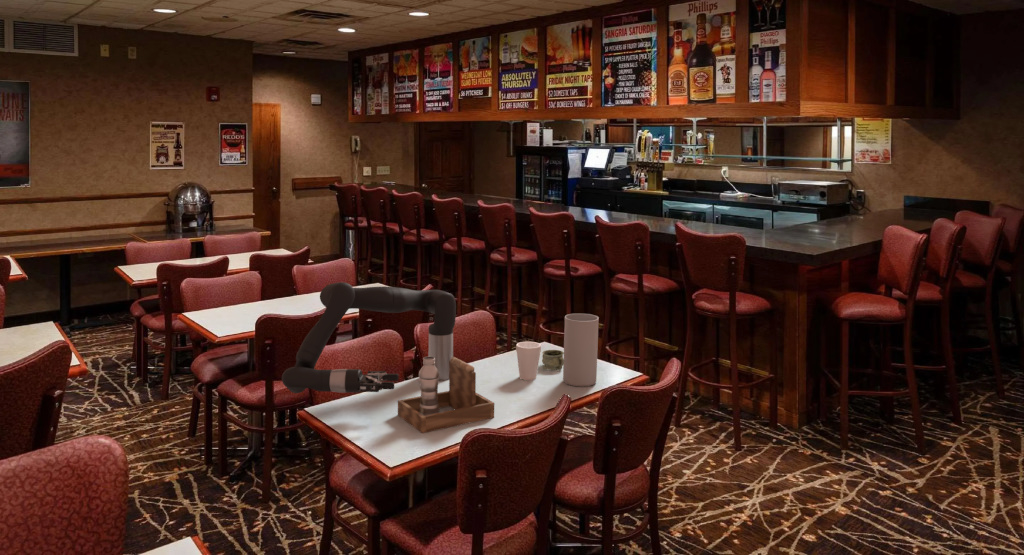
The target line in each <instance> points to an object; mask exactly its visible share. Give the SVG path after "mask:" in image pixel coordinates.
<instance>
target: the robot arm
mask: <svg viewBox="0 0 1024 555" xmlns="http://www.w3.org/2000/svg"><path fill="white" fill-rule="evenodd" d="M319 299H320V302H321V304H322V306H323V307H325V310H324V312H323V314H322V315H321V316H320V317H319V320H318V321H317V322H316V323H315V325H314V326H312V328H311V329H310V330H309V332H308V333H307V334H306V336H305V338H304V339H303V341H302V343H301V345H300V346H299V349H298V351H297V352H296V356H295V360H296V362H295V364H294V366H291V367H288V368H286V369H285V370H284V371H283V373H282V375H281V381H282V384H283V385H284V386H285V387H286V388H287V389H288V390H289V391H290V392H291V393H293V394H300V393H303V392H304V391H305V390H306V389H311V390H314V391H317V392H333V393H344V394H345V393H347V394H348V393H349V394H351V393H353V394H354V393H355V394H357V393H362V392H363V393H379V392H380V391H382V390H394V389H395V382H398V381H399V374H398V373H387V372H386V370H368V371H367V374H363V371H362V370H361V369H360V368H337V369H318V368H317V369H316V368H315V367H316V364H317V362H318V361H319V359H320V357H321V354H322V353H323V351H324V349H325V347H326V345H327V343H328V341H329V339H330V338H331V335H332V334H333V332H334V331H335V329H336V328H337V326H338V325H339V324H340V322H341V320H342V319H343V317H344V316H345V315H346V313H347V312H348V311H349V310H350V309H357V310H358V309H359V310H364V311H371V312H378V313H380V312H381V313H389V314H390V313H392V314H396V313H397V314H398V313H403V312H404V313H406V312H409V311H422V312H426V313H429V314H430V313H431V314H434V321H433V323H431V324H429V326H428V356H427V357H434V358H435V364H434V365H435V367H436V368H437V370H438V372H439V380H438V381H443V380H444V381H445V380H449V361H450V360H451V358H452V357H454V328H455V326H456V318H457V317H456V315H457V303H456V298H455V296H454V295H453V294H452V293H451V292H450V293H449V292H448V291H445V290H440V289H427V290H425V289H423V290H414V289H409V288H404V287H397V286H370V287H369V286H367V287H354V286H352V285H351V284H350V283H347V282H345V281H344V282H343V281H341V282H334V283H329V284H327V285H326V286H324V287H323V288H322V290H321V291H320V294H319Z"/></svg>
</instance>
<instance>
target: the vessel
mask: <svg viewBox="0 0 1024 555" xmlns="http://www.w3.org/2000/svg"><path fill="white" fill-rule="evenodd" d="M541 361H542V364H543V369H545V370H548V371H560V370H562V369H563V364H564V351H562V350H559V349H546V350H543V351H542V359H541Z"/></svg>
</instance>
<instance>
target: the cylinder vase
mask: <svg viewBox="0 0 1024 555" xmlns="http://www.w3.org/2000/svg"><path fill="white" fill-rule="evenodd" d="M599 318H600V317H599V316H598V315H594V314H591V313H569V314H566V315H565V316H564V334H563V337H564V339H563V352H564V354H563V359H564V364H563V366H562V369H563V370H562V374H563V375H562V376H563V377H562V380H563V381H562V382H564V383H565V384H566V385H569V386H572V387H581V388H582V387H584V386H585V387H590V385H591V386H593V385H594V384H596V382H597V371H598V369H597V367H598V345H599V344H598V343H599V341H598V340H599ZM585 387H584V388H585Z"/></svg>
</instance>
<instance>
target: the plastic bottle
mask: <svg viewBox="0 0 1024 555" xmlns="http://www.w3.org/2000/svg"><path fill="white" fill-rule="evenodd" d="M422 360H423V361H422V364H423V366H422V367H421V368H420V370H419V372H418V379H419V384H420V386H419V387H420V396H421V401H420V407H419V413H421V414H422V415H423V416H426V415H431V414H435V413H440V411H441V410H440V409H441V408H440V407H439V403H438V393H439V392H438V388H439V381H440V380H439V372H438V370H437V368H436V367H435V365H434V364H435V358H434V357H428V356H425V357H423V358H422Z"/></svg>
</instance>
